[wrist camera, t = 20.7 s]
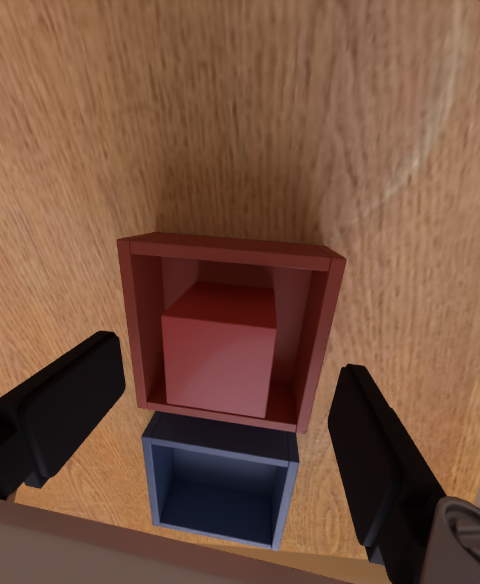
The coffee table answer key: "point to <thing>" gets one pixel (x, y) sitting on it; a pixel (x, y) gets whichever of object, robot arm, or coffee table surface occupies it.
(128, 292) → the red bin
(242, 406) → the red block
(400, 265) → the coffee table surface
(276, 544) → the blue bin
